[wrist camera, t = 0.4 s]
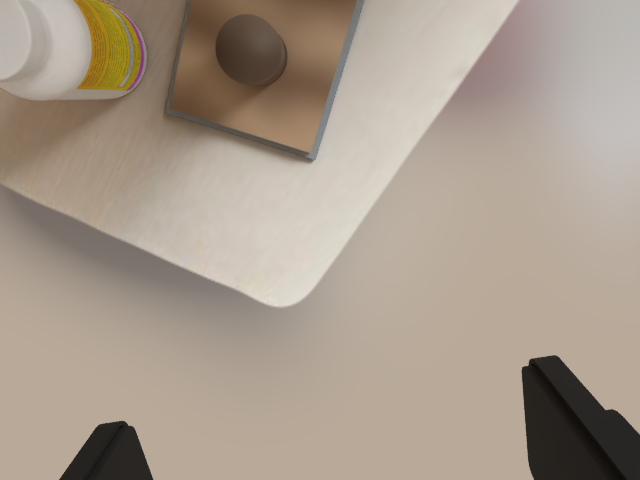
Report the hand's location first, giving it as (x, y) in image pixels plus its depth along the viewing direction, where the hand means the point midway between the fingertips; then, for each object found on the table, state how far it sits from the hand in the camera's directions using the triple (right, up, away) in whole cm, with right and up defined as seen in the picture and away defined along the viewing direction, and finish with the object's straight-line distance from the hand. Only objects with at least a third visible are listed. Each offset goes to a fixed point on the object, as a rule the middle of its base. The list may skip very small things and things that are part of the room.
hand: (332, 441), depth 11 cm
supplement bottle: (-16, +19, +24) cm, 35 cm away
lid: (-5, +18, +23) cm, 30 cm away
